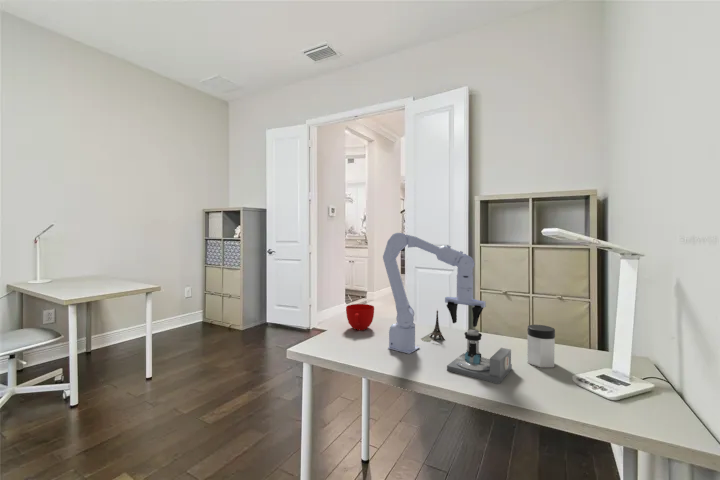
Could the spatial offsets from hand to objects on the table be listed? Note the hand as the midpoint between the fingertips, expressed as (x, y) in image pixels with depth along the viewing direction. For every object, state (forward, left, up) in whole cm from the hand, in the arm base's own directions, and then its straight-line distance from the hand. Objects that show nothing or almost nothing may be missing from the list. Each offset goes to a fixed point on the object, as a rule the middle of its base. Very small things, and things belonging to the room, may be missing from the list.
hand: (464, 324), depth 123 cm
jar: (+24, +6, -11) cm, 27 cm away
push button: (+8, -12, -9) cm, 16 cm away
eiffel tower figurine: (-16, +9, -11) cm, 21 cm away
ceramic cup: (-49, 0, -11) cm, 50 cm away
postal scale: (+10, -12, -10) cm, 19 cm away
